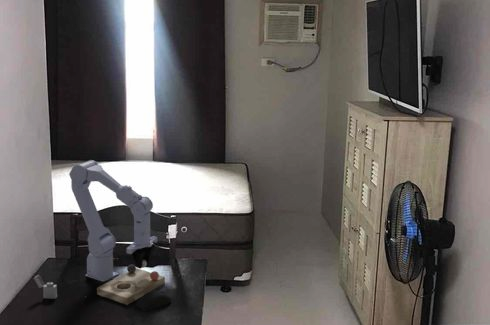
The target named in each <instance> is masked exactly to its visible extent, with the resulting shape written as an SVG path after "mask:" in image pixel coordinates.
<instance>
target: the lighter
mask: <svg viewBox="0 0 490 325" xmlns="http://www.w3.org/2000/svg"><path fill="white" fill-rule="evenodd" d="M33 280H34V281H35V283H36V284H37V286H38V288H39V289H40V288H42V290H43V299H50V300H51V299H52V300H54V299H55V300H56V299H57V298H58V286H57V284H54V282H46V284H45V282H44V281H43V279H42V277H41V276H40V274H37V275H35V276H34V277H33Z"/></svg>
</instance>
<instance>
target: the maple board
mask: <svg viewBox="0 0 490 325" xmlns="http://www.w3.org/2000/svg"><path fill="white" fill-rule="evenodd" d="M151 273H152V272H150V271H146V270H144V269H142V268H141V269H140V268H137V267H136V270H135V272H134V273H129V272H128V271H127V272H125V273H123V274H121V275H118V277H116V278H114V279H112V280H109V281H108V282H106V283H104V284H102V285H99V286H98V287H97V288H96V294H97V295H99V296H100V297H103V298H107V299H109V300H112V301H115V302H118V303H120V304H123V305H126V306H128V305H130V304H131V303H133V302H134V301H138V300H139V299H140V298H141V297H142V296H143V295H145V294H146V293H148V292H150V291H154V290H156V289H157V288H159V287H161V286H162V285H164V284H165V282H166V281H165V280H166V277H165V276H163V275H160V274H159V278H158V279H157V280H152V279H151V278H150V274H151Z"/></svg>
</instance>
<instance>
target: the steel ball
mask: <svg viewBox="0 0 490 325" xmlns="http://www.w3.org/2000/svg"><path fill="white" fill-rule="evenodd" d="M146 266H148V265H147V261H146V260H145V259H143V262H142V268H141V269H143V268H146Z"/></svg>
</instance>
